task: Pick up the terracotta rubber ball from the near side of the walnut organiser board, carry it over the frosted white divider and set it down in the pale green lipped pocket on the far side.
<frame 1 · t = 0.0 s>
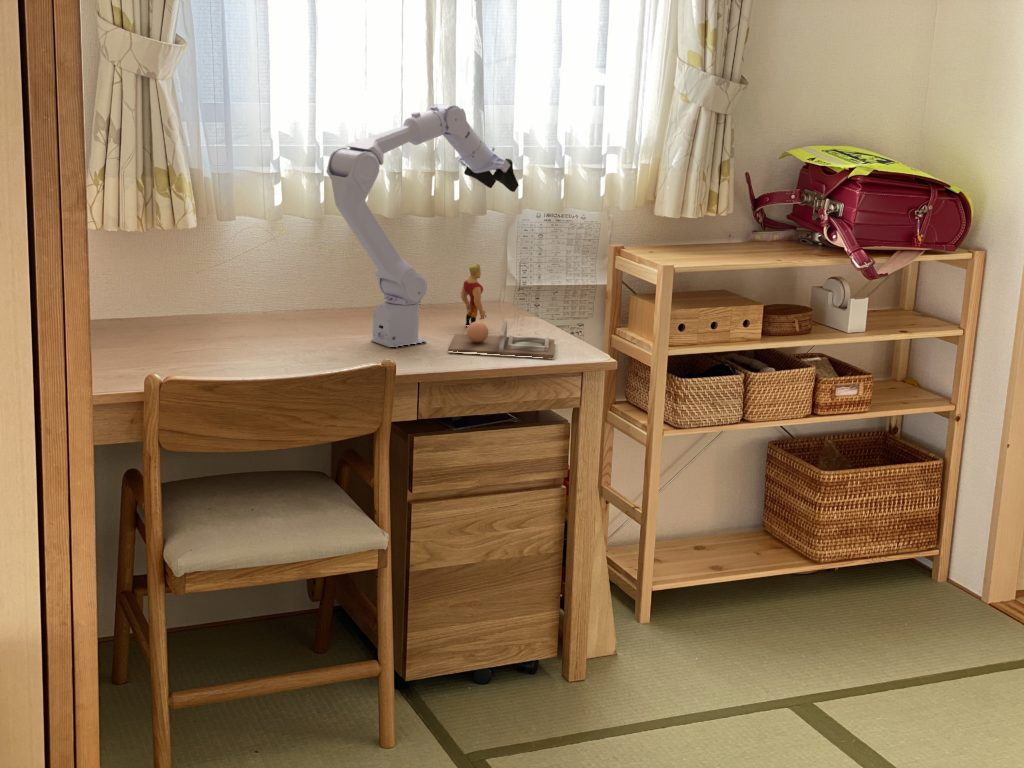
hand: (504, 186, 268), 32 cm above the table, tool tilted 50°, fingers open, 7 cm apart
ball: (477, 332, 256), point 3 cm above the table, touching board
action figure: (473, 329, 274), on the table
board: (502, 348, 257), on the table
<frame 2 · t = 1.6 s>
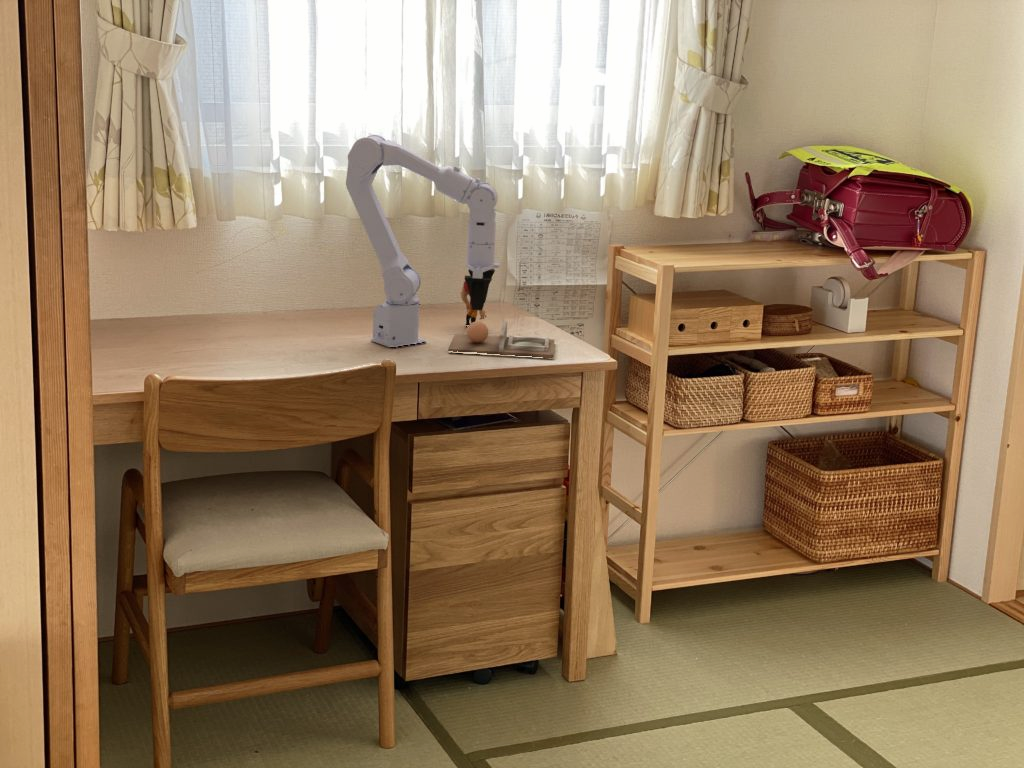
hand: (478, 306, 255), 9 cm above the table, tool pointing down, fingers open, 7 cm apart
nothing on the table moved.
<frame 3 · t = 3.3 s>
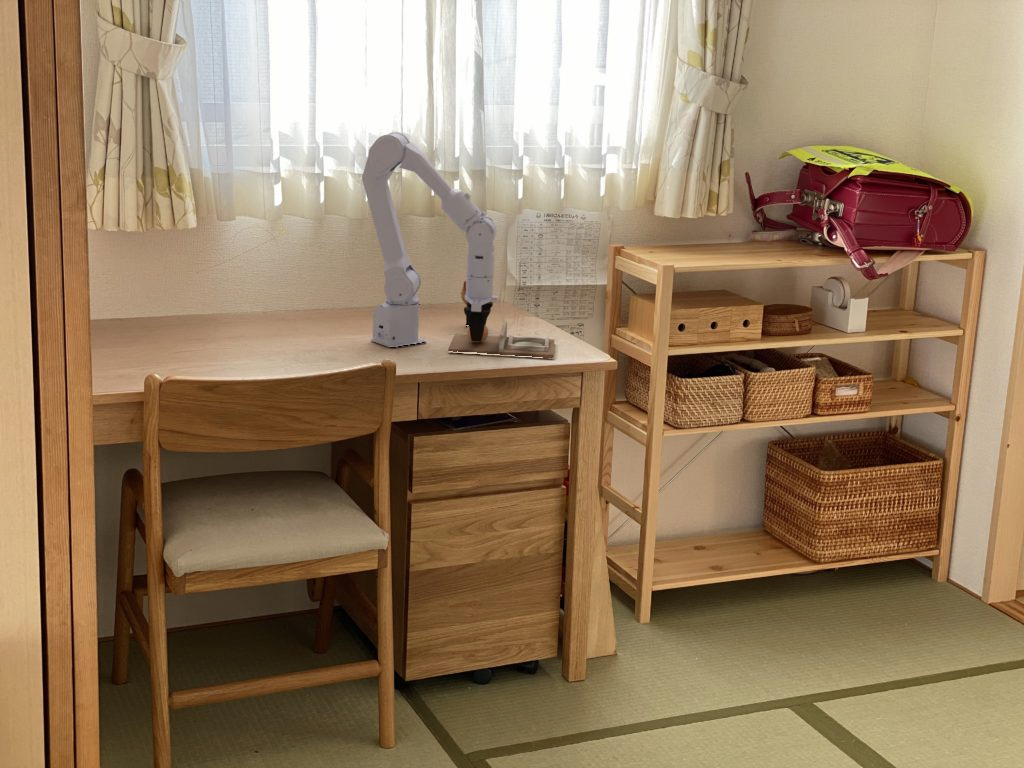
hand: (477, 338, 257), 2 cm above the table, tool pointing down, fingers closed on ball, 5 cm apart
ball: (477, 332, 256), point 3 cm above the table, touching board, gripper
everything else where it was.
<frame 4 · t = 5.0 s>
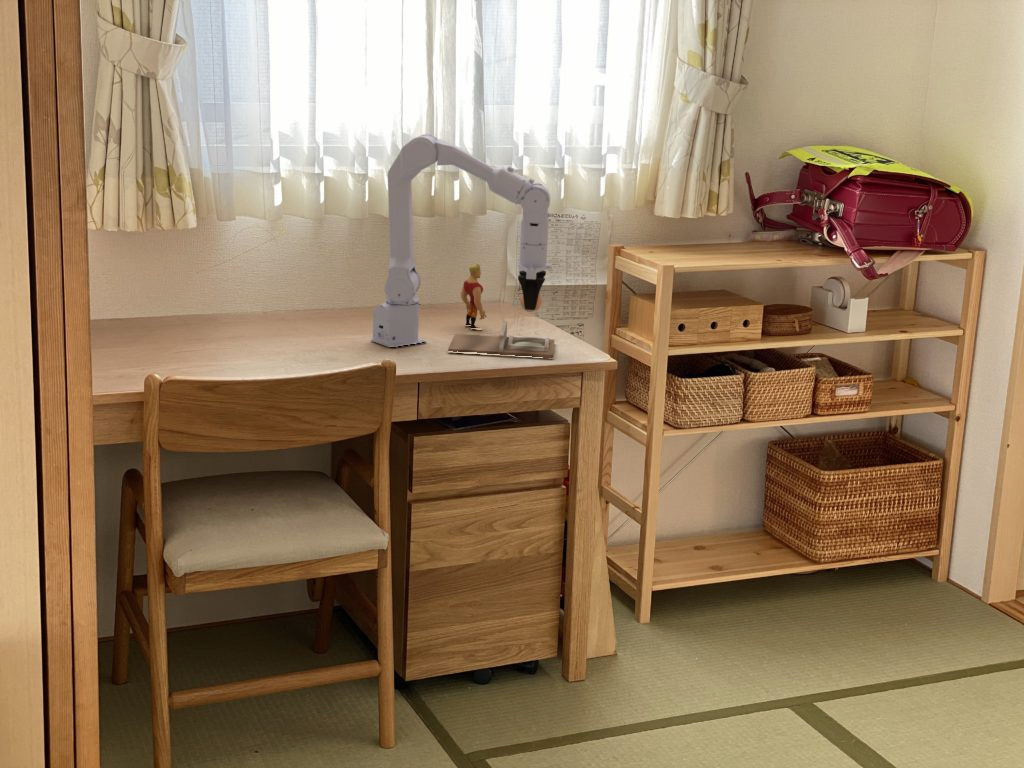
hand: (530, 307, 254), 9 cm above the table, tool pointing down, fingers closed on ball, 5 cm apart
ball: (530, 300, 254), point 11 cm above the table, touching gripper
everything else where it was.
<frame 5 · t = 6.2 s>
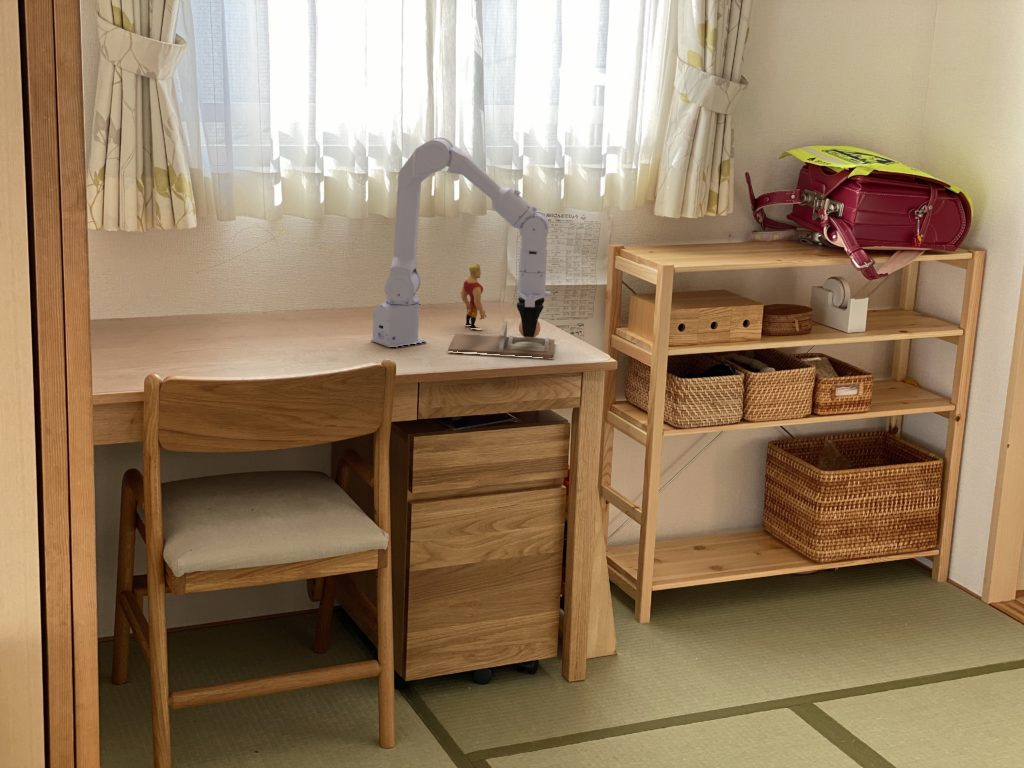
hand: (529, 333, 256), 4 cm above the table, tool pointing down, fingers closed on ball, 5 cm apart
ball: (529, 327, 256), point 5 cm above the table, touching gripper
everything else where it was.
when the fingers open (4 cm above the table, at t = 6.9 s): ball drops 2 cm, resting on board.
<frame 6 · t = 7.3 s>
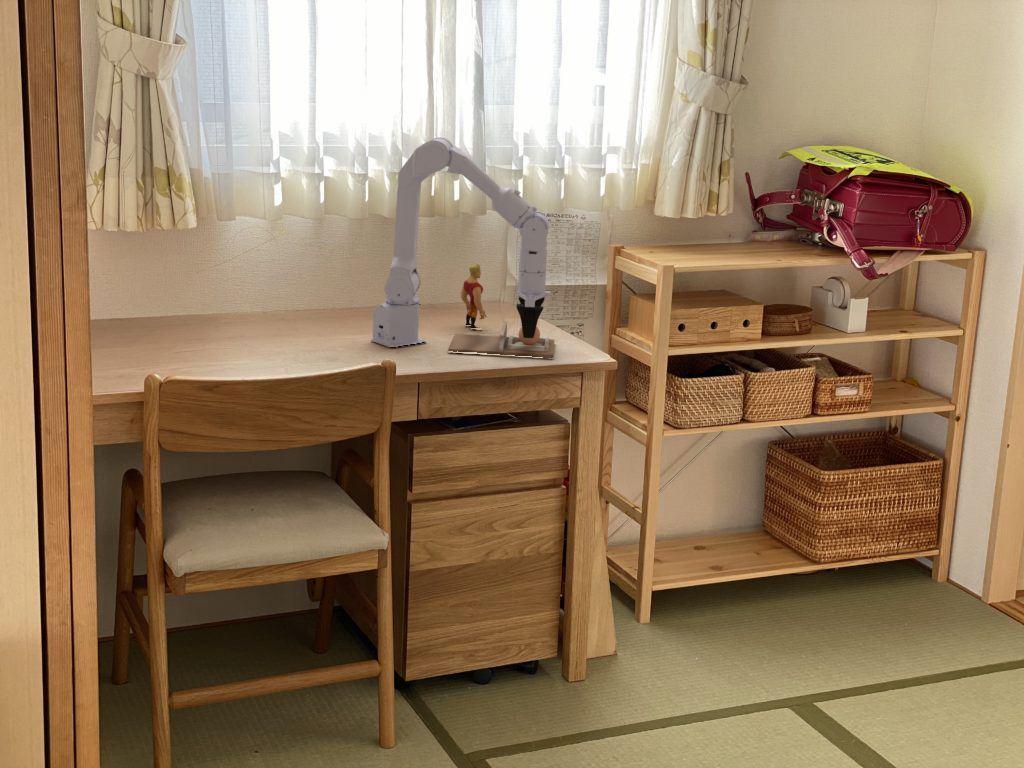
hand: (529, 333, 256), 4 cm above the table, tool pointing down, fingers open, 7 cm apart
ball: (529, 334, 256), point 3 cm above the table, touching board
everything else where it was.
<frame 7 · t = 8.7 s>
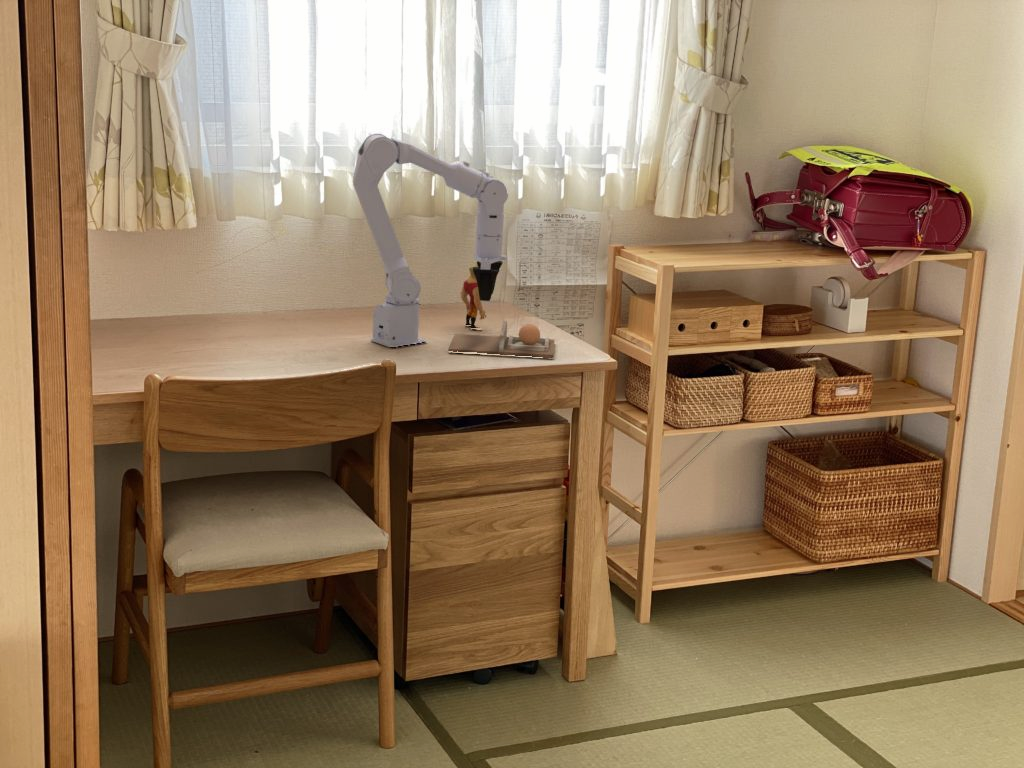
hand: (486, 297, 260), 10 cm above the table, tool pointing down, fingers open, 7 cm apart
nothing on the table moved.
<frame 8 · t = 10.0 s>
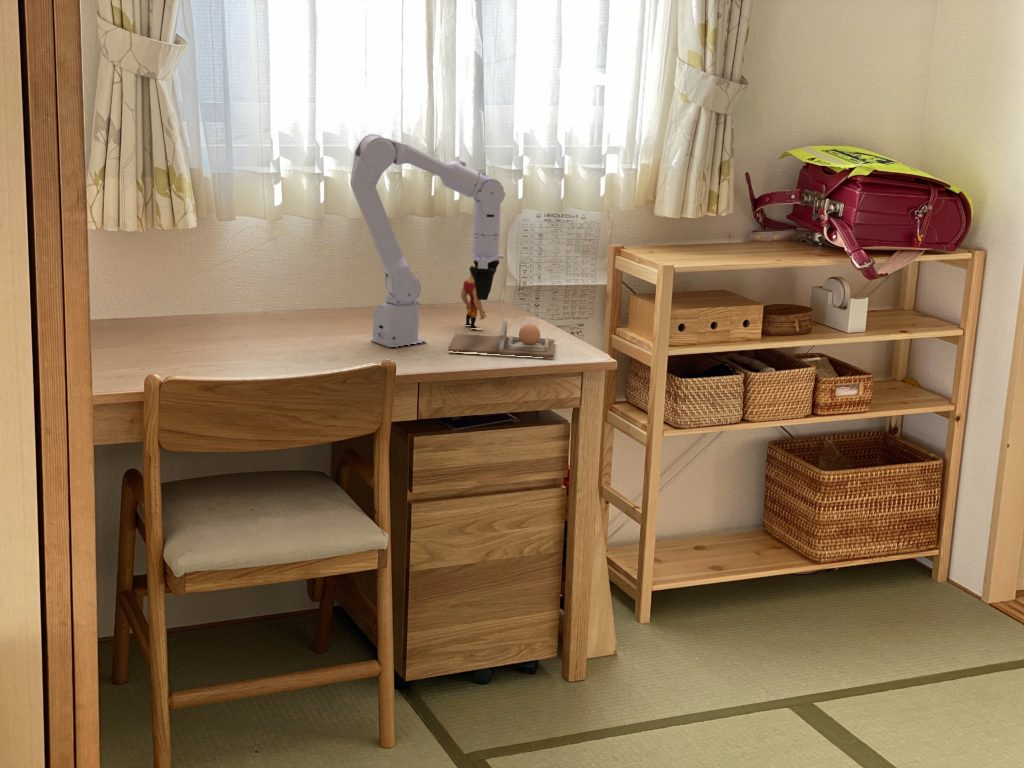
hand: (483, 296, 261), 10 cm above the table, tool pointing down, fingers open, 7 cm apart
nothing on the table moved.
at the end: ball 0.2 cm from the target spot, point 3.4 cm above the table; the gripper is holding nothing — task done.
